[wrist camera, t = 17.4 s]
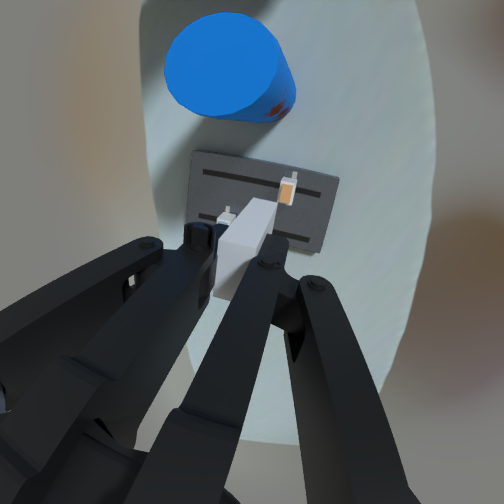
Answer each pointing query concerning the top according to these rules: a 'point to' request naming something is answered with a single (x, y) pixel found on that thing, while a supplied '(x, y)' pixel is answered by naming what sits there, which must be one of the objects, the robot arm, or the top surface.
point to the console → (261, 195)
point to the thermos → (230, 70)
